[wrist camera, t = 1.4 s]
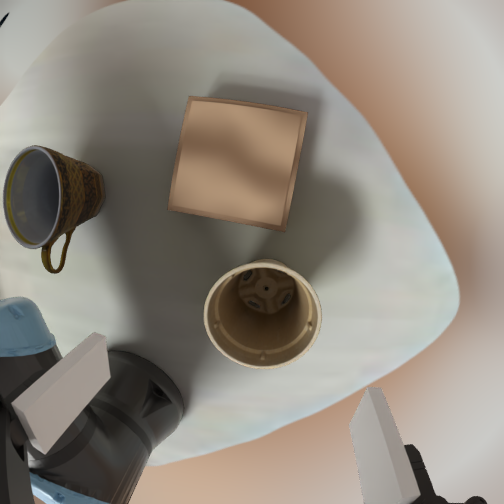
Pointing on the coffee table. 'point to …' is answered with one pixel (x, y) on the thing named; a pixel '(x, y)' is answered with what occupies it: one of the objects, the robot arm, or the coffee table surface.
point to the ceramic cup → (49, 199)
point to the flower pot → (262, 315)
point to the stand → (237, 161)
